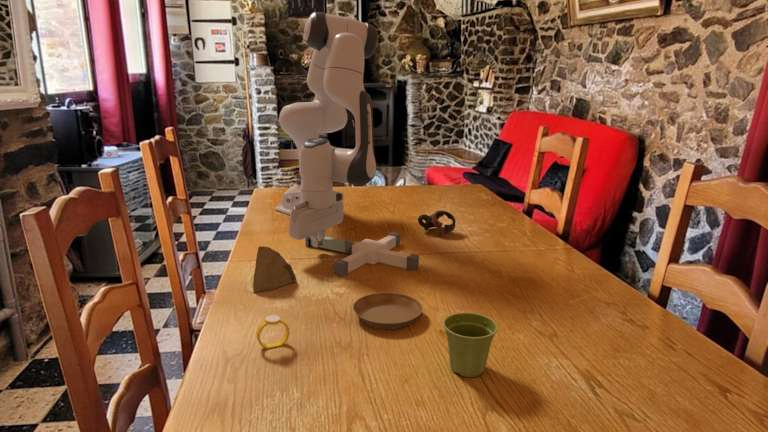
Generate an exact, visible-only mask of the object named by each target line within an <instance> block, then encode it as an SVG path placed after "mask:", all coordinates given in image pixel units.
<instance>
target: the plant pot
mask: <svg viewBox="0 0 768 432" xmlns="http://www.w3.org/2000/svg"><path fill="white" fill-rule="evenodd" d="M442 326H443V328H444V332H445V335H446V338H447V339H446V340H447V346H448V348H447V349H448V356H449V358H448V359H449V367H450V370H451V372H453V373H456V374H459V375H460V376H462V377H467V378H476V377H479V376H480V375H481V374H482V373H484V372H485V370H486V366H487V362H488V357H489V353H490V348H491V344H492V341H493V339H494V337H495V335H496V334H497V332H498V331H499V330H498V328H499V326H498V323H496V321H495V320H494V319H492V318H490V317H489V316H488V315H487V316H486V315H484V314H481V313H477V312H456V313H451V314H449V315H447V316H445V318H444V319H443V321H442Z"/></svg>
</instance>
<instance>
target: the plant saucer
mask: <svg viewBox="0 0 768 432" xmlns="http://www.w3.org/2000/svg"><path fill="white" fill-rule="evenodd" d="M352 311H353V312H354V314H355V315H356V316H357V317H358V318H359V319H360V320H361V321H362V322H364V323H365V324H366V325H367V326H370V327H373V328H376V329H381V330H397V329H400V328H401V329H402V328H404V327H406V326H409V325H410V324H411V323H413V322H414V321H415V320H417V318H418V317H419V316H420V315H421V314H422V312H423V305H422V304H421V302H420V301H419V300H417V299H416V298H414V297H412V296H410V295H407V294H402V293H399V292H398V293H396V292H377V293H376V292H375V293H369V294H366V295H363V296H361V297H359V298H358V299H357V300H355V301H354V303H353V305H352Z"/></svg>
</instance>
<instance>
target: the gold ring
mask: <svg viewBox="0 0 768 432" xmlns="http://www.w3.org/2000/svg"><path fill="white" fill-rule="evenodd" d="M278 324H282V325H283V326H284V327H285V334H284V335H283V337H282V338H281V339H280V341H277V342H272V343H267V344H266V343H264V342H262V340H261V333H262V331H263V329H264V328H265V327H267V326H268V325H270V326H276V325H278ZM290 335H291V333H290V327H289V325H288V324H287V322H286V321H285V320H284V319H282V318H281V317H280V316H279V315H276V314H271V315H268V316H266V317H265V320H264V321H262V322H261V323H260V324H259V326H258V328H257V329H256V340H257V341H258V344H259V345H260V346H261V348H264V349H265V350H269V349H272V348H273V349H274V348H279V347H283V346H284V345H285V344H286V343H287V341H288V339H289V337H290Z"/></svg>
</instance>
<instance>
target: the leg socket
mask: <svg viewBox="0 0 768 432" xmlns="http://www.w3.org/2000/svg"><path fill="white" fill-rule="evenodd" d="M304 239H305V247H307V248H308V247H312V245H311V238H310V237H306V238H304Z"/></svg>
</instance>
